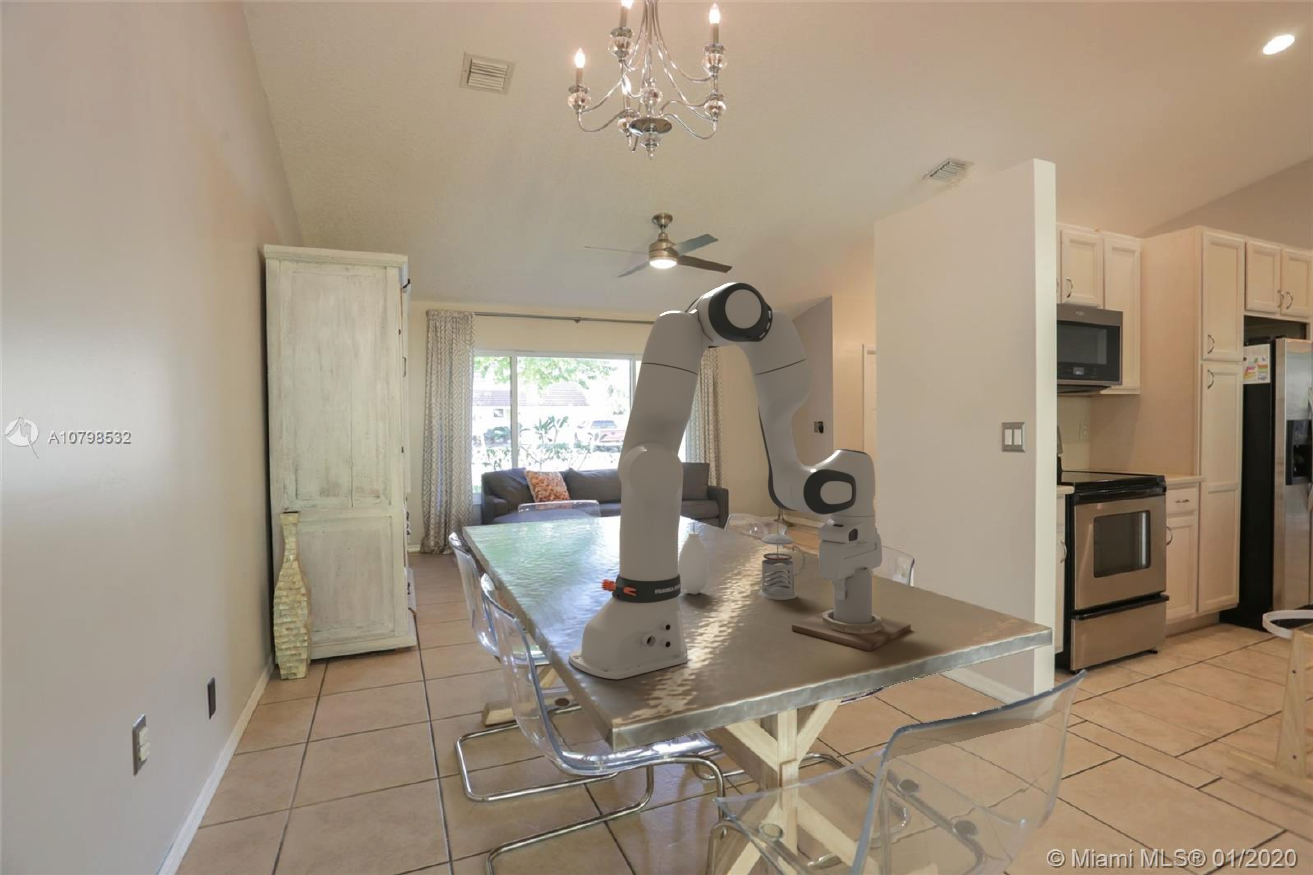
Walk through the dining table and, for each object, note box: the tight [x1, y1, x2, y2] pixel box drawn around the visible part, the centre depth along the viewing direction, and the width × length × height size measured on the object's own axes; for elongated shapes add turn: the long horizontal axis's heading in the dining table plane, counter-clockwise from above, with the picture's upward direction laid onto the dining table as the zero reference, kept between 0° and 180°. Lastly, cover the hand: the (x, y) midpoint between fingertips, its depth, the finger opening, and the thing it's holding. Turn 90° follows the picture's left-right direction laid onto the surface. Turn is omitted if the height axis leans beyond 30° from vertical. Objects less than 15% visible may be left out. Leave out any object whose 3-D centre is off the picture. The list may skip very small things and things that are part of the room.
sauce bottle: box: [678, 522, 710, 595], centre depth 157 cm, size 8×8×18 cm
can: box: [833, 567, 873, 624], centre depth 128 cm, size 8×8×12 cm
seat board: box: [791, 607, 912, 652], centre depth 129 cm, size 18×17×3 cm
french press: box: [757, 512, 806, 601], centre depth 156 cm, size 10×12×25 cm
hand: (852, 594), depth 128 cm, fingers closed on can, 7 cm apart
